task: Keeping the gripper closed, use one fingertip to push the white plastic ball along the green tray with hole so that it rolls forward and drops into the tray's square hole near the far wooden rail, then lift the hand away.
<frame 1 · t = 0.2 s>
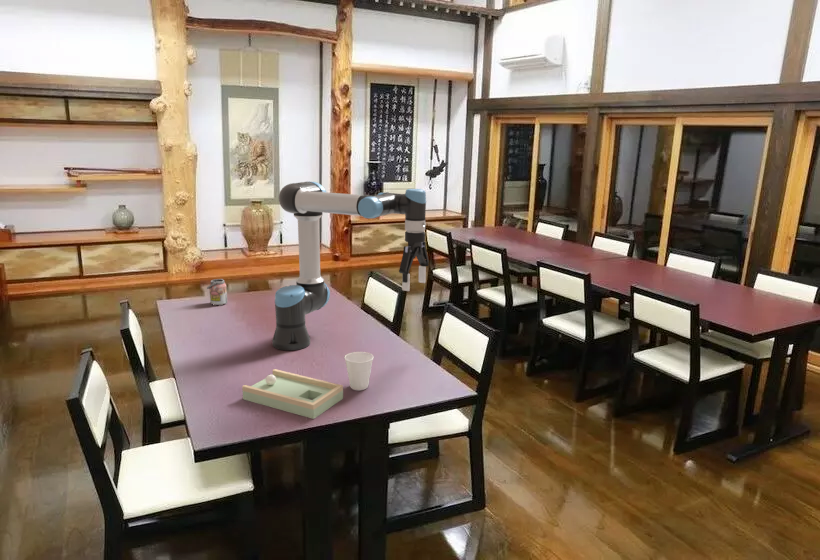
hand: (414, 286, 220), 28 cm above the table, fingers open, 13 cm apart
beverage can: (217, 304, 291), on the table
ball: (270, 379, 191), point 5 cm above the table, touching green tray with hole
green tray with hole: (293, 398, 188), on the table
cup: (359, 387, 198), on the table
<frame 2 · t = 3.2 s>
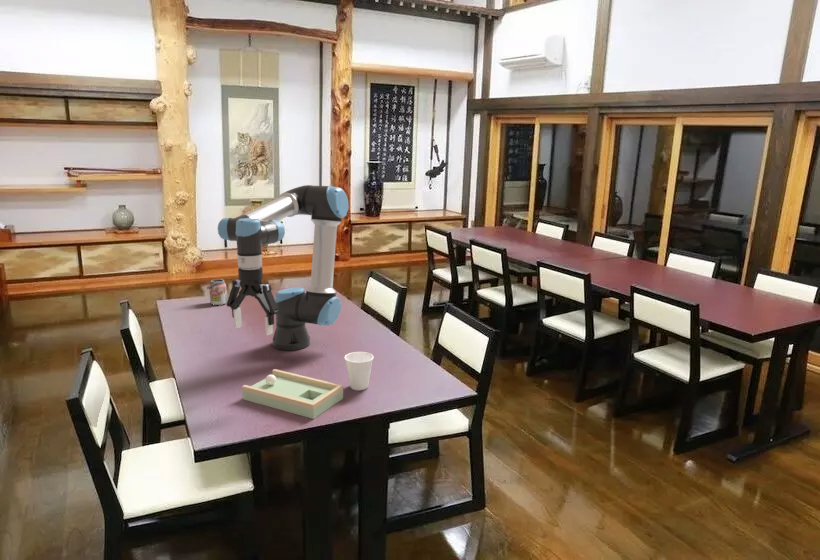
hand: (253, 330, 190), 21 cm above the table, fingers open, 12 cm apart
nothing on the table moved.
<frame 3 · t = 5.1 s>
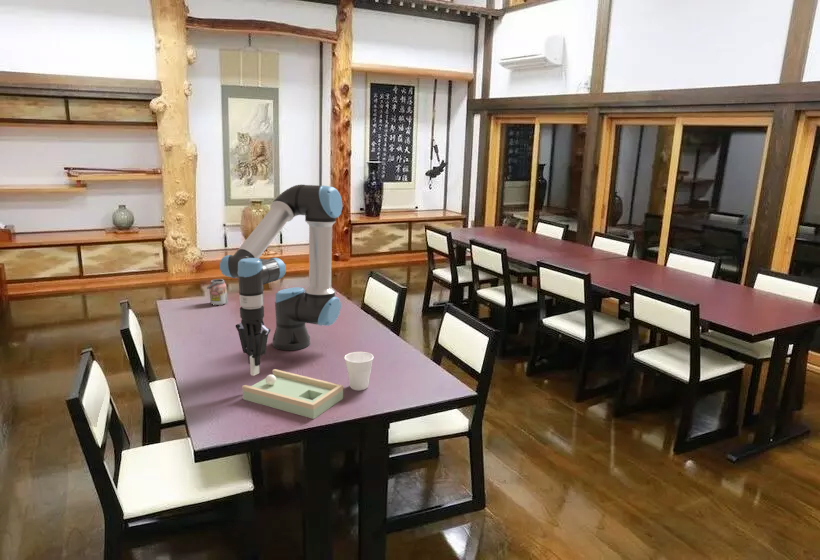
hand: (254, 373, 193), 6 cm above the table, fingers closed
nothing on the table moved.
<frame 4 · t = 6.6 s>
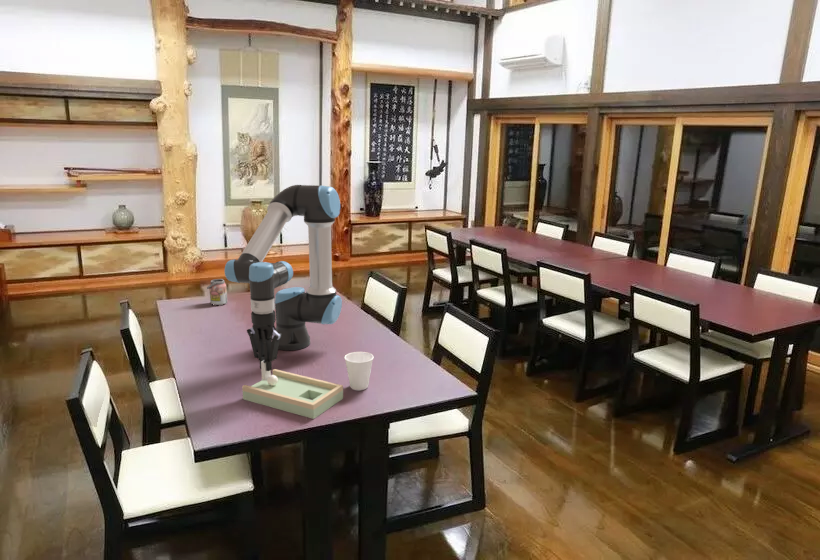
hand: (266, 379, 192), 5 cm above the table, fingers closed
ball: (272, 380, 191), point 5 cm above the table, tilted 23°, touching green tray with hole
everything else where it was.
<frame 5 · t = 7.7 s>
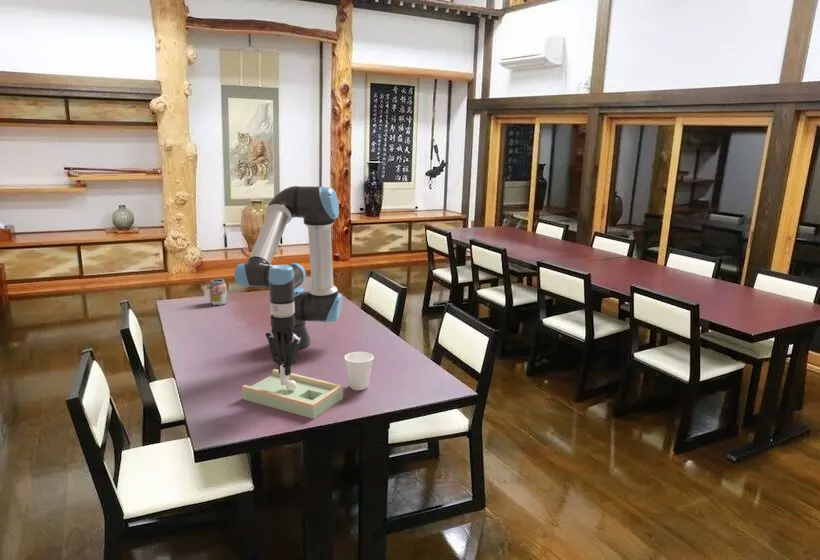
hand: (285, 383, 188), 5 cm above the table, fingers closed
ball: (291, 385, 187), point 5 cm above the table, tilted 85°, touching gripper, green tray with hole
everything else where it was.
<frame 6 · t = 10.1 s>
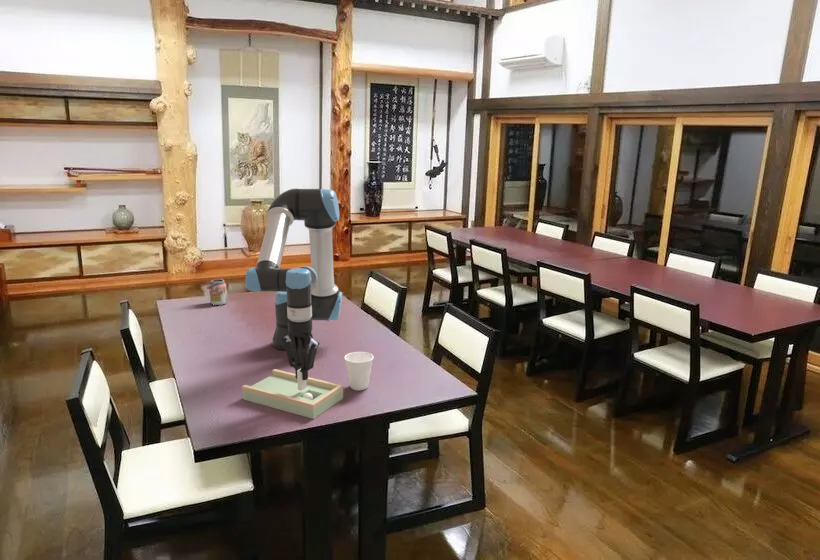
hand: (302, 388, 186), 4 cm above the table, fingers closed
ball: (307, 398, 185), point 2 cm above the table, tilted 134°
everything else where it was.
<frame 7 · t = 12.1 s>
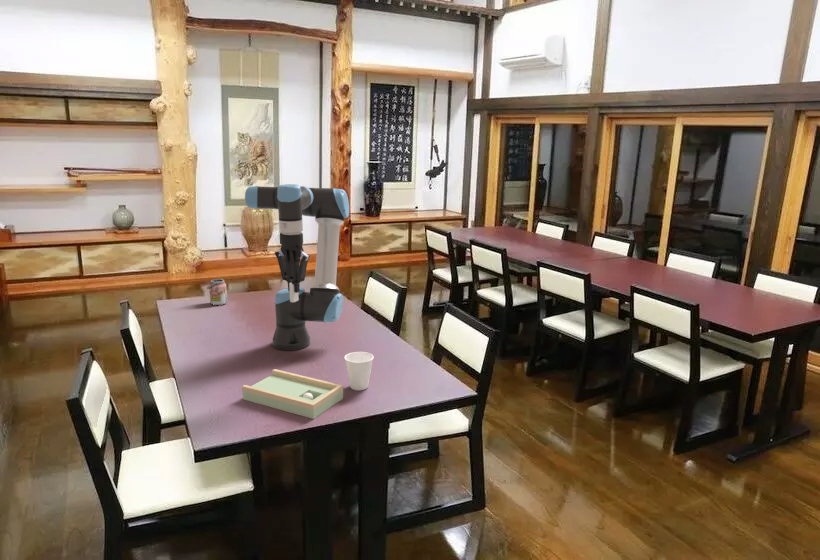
hand: (294, 301, 196), 29 cm above the table, fingers closed
nothing on the table moved.
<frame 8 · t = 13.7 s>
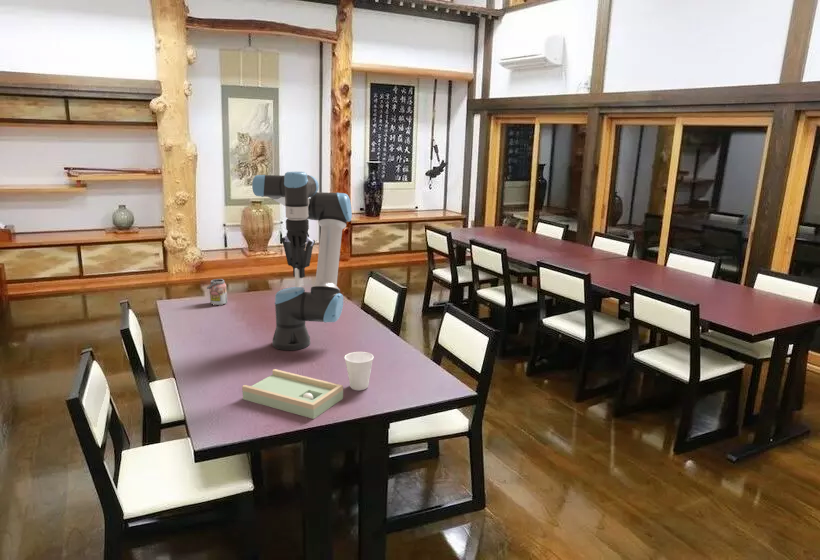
hand: (299, 286, 200), 32 cm above the table, fingers closed
nothing on the table moved.
at the end: ball 0.9 cm from the target spot in the green tray with hole, point 1.7 cm above the green tray with hole's base; ball touching table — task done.
